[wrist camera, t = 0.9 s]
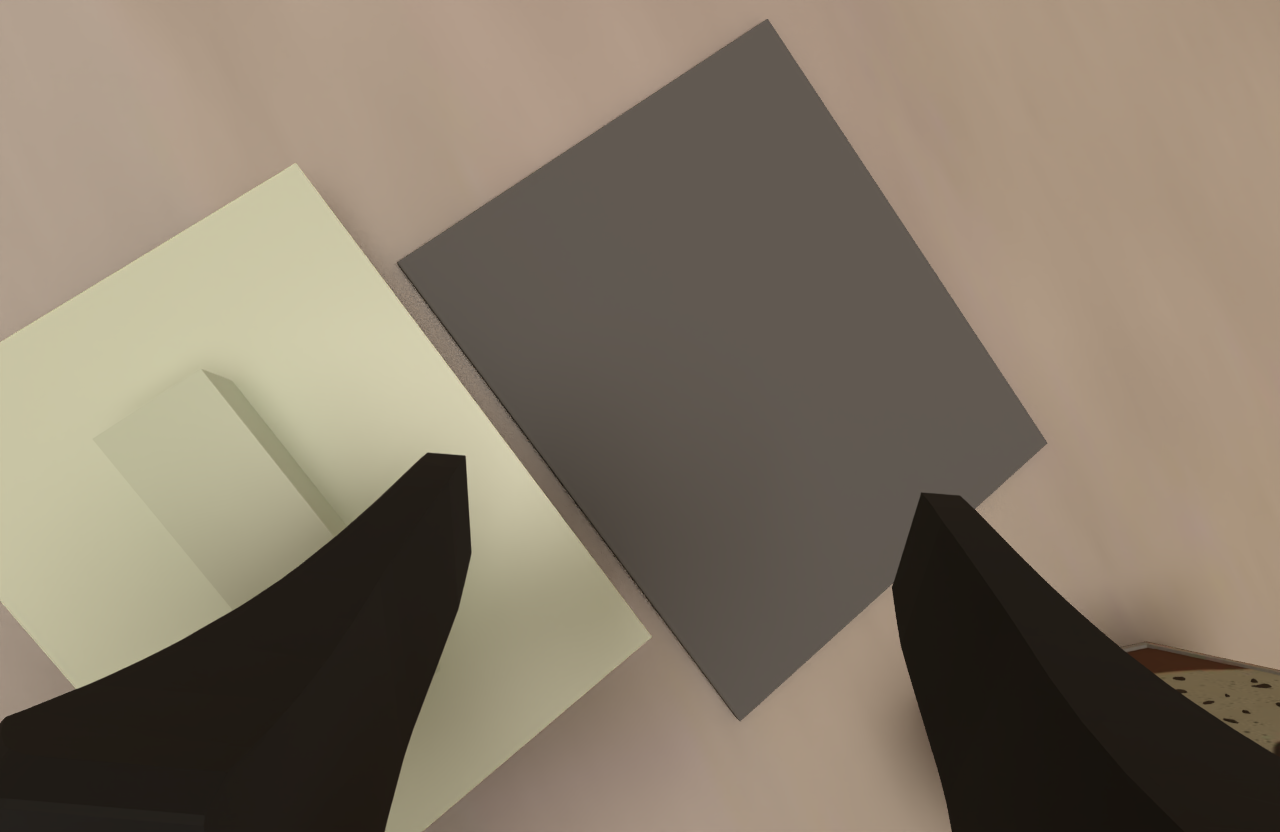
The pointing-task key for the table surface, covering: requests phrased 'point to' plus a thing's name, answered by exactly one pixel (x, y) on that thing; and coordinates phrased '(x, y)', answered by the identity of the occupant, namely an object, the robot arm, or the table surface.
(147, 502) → the lid
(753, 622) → the rubber mat
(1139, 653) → the food container
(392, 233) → the table surface
